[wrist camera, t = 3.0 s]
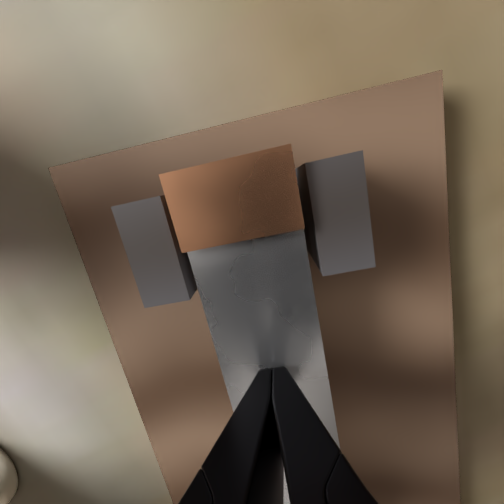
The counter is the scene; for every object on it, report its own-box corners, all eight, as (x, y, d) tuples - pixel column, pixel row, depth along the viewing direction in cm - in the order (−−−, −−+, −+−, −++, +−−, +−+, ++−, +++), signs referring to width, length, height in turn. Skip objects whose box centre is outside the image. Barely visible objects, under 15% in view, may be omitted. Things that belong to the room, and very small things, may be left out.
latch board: (443, 516, 15) (516, 653, 11) (204, 535, 16) (181, 661, 12) (416, 86, 10) (532, 9, 6) (75, 169, 11) (-43, 161, 7)
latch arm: (364, 574, 13) (379, 633, 11) (285, 578, 13) (287, 636, 11) (295, 148, 8) (304, 140, 6) (171, 176, 8) (147, 177, 6)
